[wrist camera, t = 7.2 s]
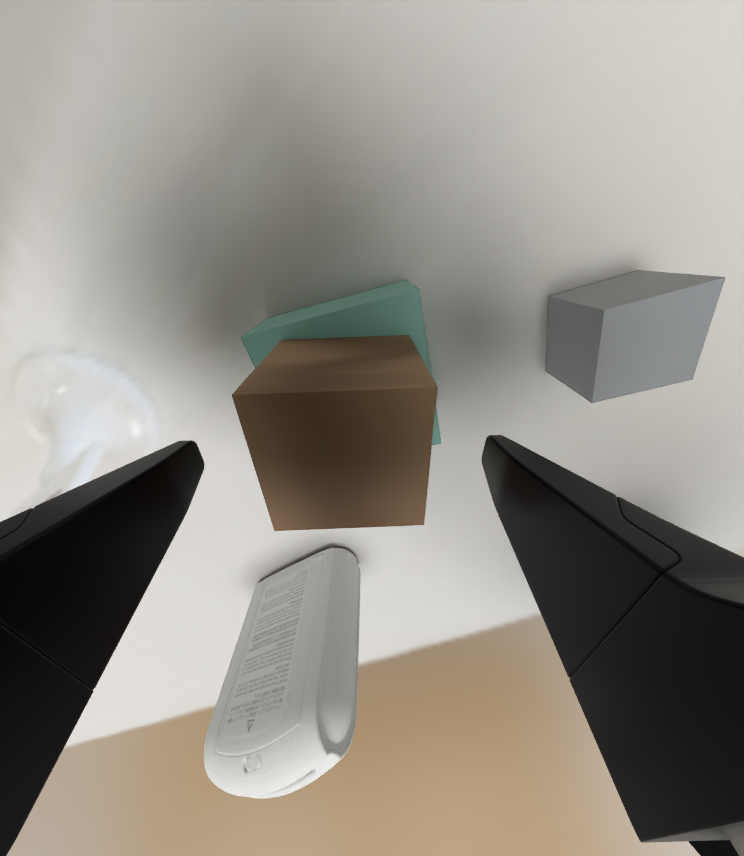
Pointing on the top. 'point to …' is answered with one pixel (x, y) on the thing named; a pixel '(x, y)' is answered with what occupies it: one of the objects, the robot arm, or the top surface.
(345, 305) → the teal base block
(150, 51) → the top surface
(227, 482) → the top surface
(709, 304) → the slate block
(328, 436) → the walnut cube
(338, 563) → the photo printer
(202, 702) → the top surface
